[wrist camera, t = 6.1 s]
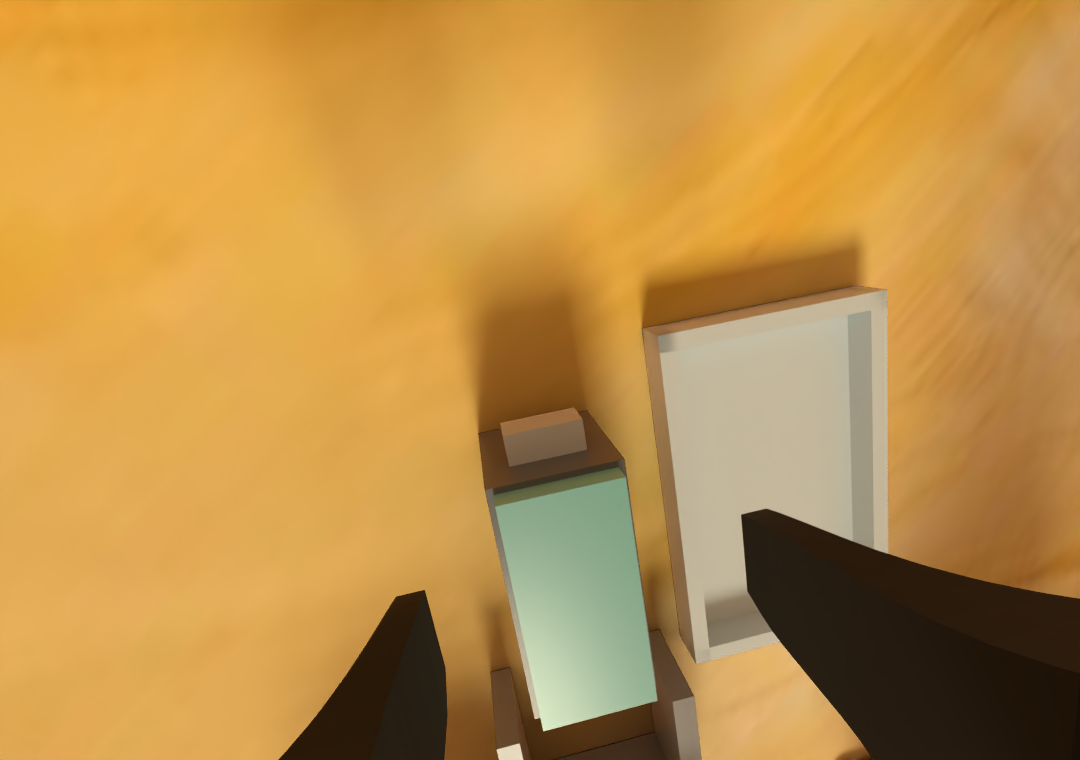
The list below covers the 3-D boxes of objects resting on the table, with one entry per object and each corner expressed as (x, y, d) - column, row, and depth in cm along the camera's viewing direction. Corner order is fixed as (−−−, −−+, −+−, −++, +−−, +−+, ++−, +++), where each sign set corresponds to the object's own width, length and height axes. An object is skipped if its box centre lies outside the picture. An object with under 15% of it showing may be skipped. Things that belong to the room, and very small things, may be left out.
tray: (854, 285, 20) (887, 289, 19) (860, 589, 24) (888, 613, 22) (642, 328, 20) (657, 335, 18) (680, 635, 23) (696, 664, 22)
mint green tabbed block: (582, 383, 20) (627, 434, 15) (615, 594, 22) (664, 704, 17) (472, 406, 20) (478, 467, 14) (518, 618, 22) (538, 738, 17)
